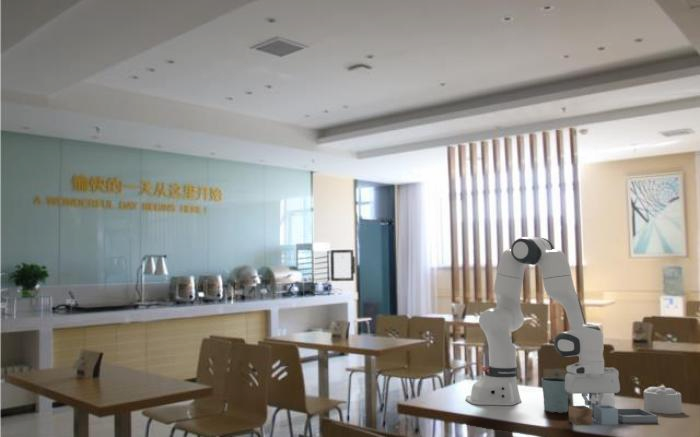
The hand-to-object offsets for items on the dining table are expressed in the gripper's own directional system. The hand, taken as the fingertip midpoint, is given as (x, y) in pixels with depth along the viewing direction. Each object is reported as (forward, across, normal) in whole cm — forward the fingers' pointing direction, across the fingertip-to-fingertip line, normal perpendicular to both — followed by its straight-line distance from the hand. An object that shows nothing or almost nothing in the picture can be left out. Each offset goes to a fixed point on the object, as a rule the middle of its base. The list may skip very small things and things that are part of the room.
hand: (592, 405), depth 235 cm
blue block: (+4, 0, +9) cm, 10 cm away
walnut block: (+4, +9, +9) cm, 13 cm away
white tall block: (+4, -10, -12) cm, 16 cm away
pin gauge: (+4, 0, 0) cm, 4 cm away
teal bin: (+4, +10, -11) cm, 15 cm away
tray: (+4, -12, +6) cm, 14 cm away
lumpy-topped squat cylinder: (+4, -32, -7) cm, 33 cm away
